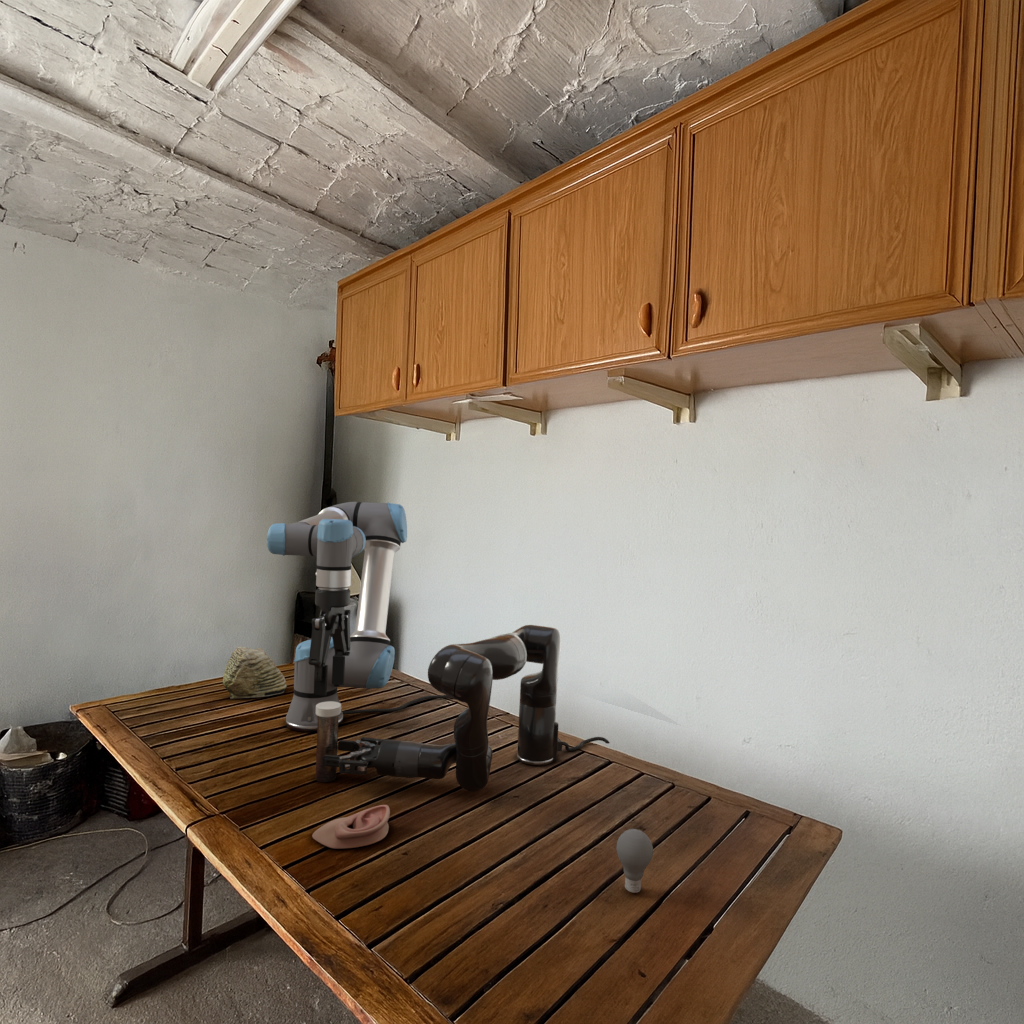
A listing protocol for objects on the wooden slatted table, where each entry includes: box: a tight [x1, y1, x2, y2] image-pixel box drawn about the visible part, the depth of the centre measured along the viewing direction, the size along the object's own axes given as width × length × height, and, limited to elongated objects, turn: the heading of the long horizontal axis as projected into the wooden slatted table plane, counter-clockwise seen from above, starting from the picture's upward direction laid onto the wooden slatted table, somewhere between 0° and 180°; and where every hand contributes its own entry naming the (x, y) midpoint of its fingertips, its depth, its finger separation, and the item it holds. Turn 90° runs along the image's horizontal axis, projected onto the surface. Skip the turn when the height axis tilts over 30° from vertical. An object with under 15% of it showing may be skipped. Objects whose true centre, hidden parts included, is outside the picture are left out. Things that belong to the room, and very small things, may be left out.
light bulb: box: [615, 828, 654, 894], centre depth 106 cm, size 6×6×10 cm
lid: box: [316, 701, 342, 717], centre depth 142 cm, size 6×6×2 cm
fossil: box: [222, 646, 288, 699], centre depth 198 cm, size 9×18×15 cm, turn 132°
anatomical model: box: [311, 804, 391, 850], centre depth 119 cm, size 13×4×12 cm
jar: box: [315, 715, 339, 783], centre depth 143 cm, size 4×4×16 cm
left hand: (329, 689), depth 142 cm, fingers open, 7 cm apart
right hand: (331, 752), depth 142 cm, fingers open, 8 cm apart
